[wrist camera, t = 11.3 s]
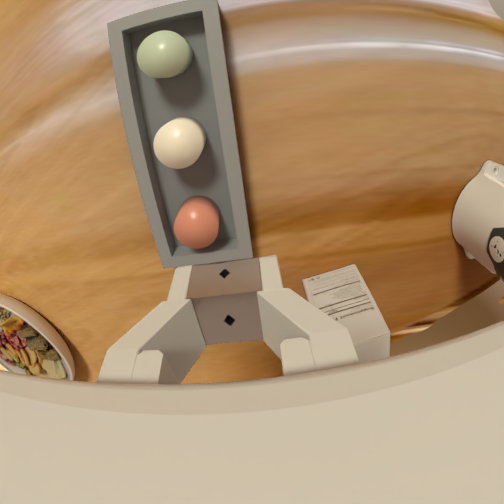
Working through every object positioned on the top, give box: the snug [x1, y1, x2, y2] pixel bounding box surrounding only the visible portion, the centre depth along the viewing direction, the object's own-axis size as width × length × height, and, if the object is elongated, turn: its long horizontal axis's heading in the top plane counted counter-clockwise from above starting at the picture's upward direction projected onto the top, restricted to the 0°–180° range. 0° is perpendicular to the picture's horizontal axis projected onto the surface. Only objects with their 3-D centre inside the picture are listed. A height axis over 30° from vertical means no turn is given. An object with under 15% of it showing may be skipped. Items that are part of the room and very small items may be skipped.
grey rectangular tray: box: [107, 0, 253, 269], centre depth 32 cm, size 12×32×4 cm, turn 7°
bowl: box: [0, 294, 75, 380], centre depth 50 cm, size 30×30×8 cm
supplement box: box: [303, 264, 390, 363], centre depth 42 cm, size 9×9×15 cm
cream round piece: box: [153, 116, 206, 169], centre depth 31 cm, size 5×5×4 cm
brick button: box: [174, 195, 220, 249], centre depth 36 cm, size 5×5×4 cm
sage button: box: [137, 30, 193, 78], centre depth 25 cm, size 5×5×4 cm
